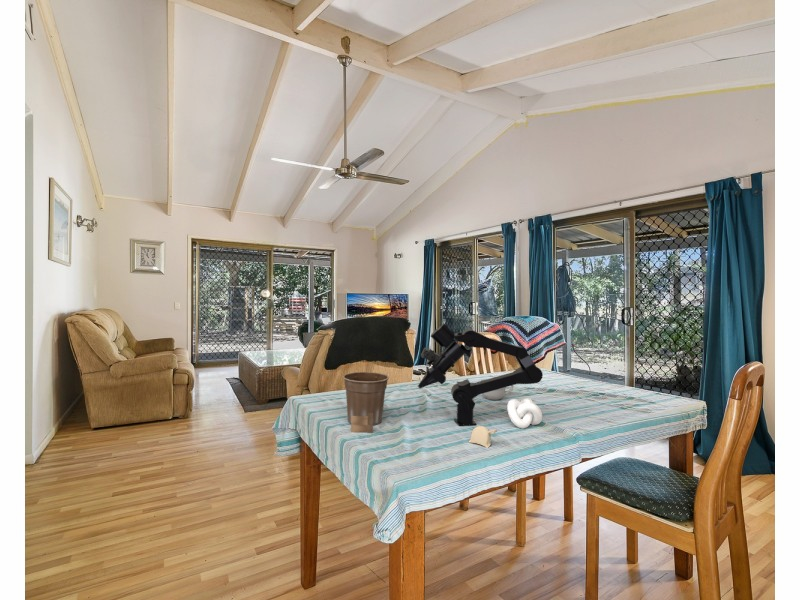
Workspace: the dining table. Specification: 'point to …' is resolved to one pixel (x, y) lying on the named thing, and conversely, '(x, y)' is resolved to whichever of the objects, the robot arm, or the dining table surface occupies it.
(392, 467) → the dining table surface
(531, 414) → the white knot sculpture
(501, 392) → the teacup
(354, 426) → the wooden block
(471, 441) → the decorative ornament
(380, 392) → the plant pot
